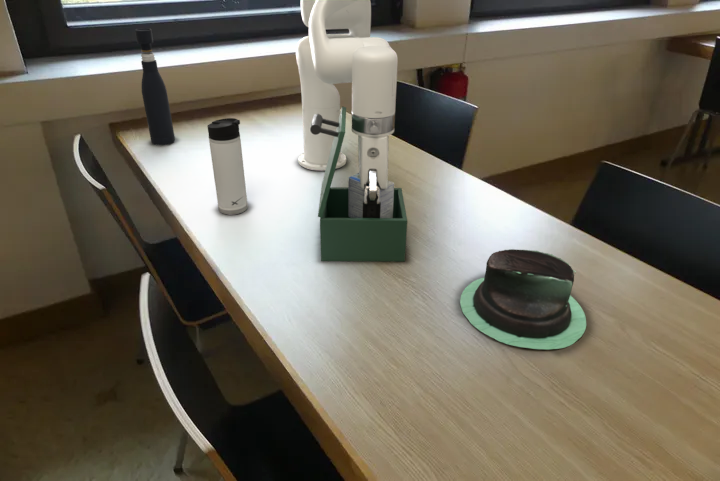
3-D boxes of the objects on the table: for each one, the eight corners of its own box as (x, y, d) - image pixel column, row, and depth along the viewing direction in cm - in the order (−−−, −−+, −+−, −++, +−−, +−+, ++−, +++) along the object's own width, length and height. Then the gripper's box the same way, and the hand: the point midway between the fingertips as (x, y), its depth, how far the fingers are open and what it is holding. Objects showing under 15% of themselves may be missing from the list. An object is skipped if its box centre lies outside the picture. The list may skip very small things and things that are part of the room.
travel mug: (242, 216, 114) (232, 126, 103) (213, 213, 115) (200, 123, 104) (253, 203, 119) (244, 116, 109) (225, 200, 120) (214, 114, 110)
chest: (399, 226, 111) (401, 187, 107) (404, 261, 99) (407, 220, 95) (324, 225, 111) (323, 187, 106) (321, 261, 99) (319, 219, 95)
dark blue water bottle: (180, 140, 152) (161, 29, 137) (161, 147, 148) (140, 32, 132) (164, 136, 155) (145, 26, 140) (146, 142, 151) (124, 29, 135)
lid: (346, 107, 98) (316, 99, 97) (345, 132, 86) (311, 123, 86) (325, 185, 106) (298, 178, 105) (322, 218, 94) (291, 210, 94)
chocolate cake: (570, 271, 96) (613, 350, 79) (473, 308, 100) (494, 390, 84) (544, 206, 89) (585, 278, 72) (441, 250, 94) (457, 326, 77)
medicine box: (393, 223, 102) (395, 182, 97) (377, 231, 99) (379, 189, 95) (363, 209, 106) (363, 169, 102) (347, 217, 104) (347, 176, 99)
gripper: (398, 140, 85) (392, 233, 94) (391, 107, 100) (387, 190, 109) (351, 139, 85) (350, 232, 94) (351, 106, 100) (351, 190, 109)
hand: (370, 209), depth 102 cm, fingers closed on medicine box, 8 cm apart
